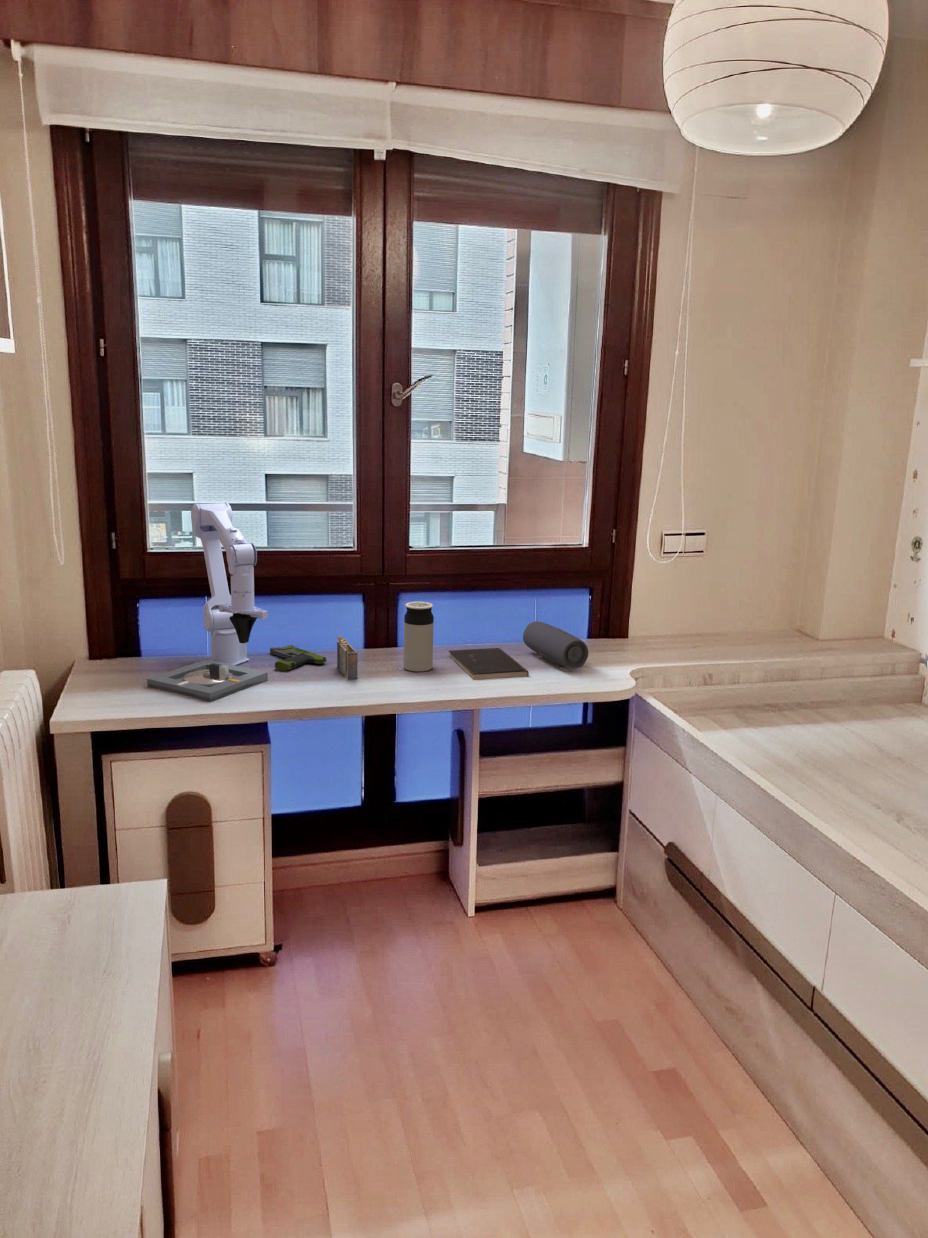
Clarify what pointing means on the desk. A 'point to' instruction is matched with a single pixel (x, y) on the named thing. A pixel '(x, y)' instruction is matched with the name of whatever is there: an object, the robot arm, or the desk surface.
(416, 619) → the travel mug
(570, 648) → the bluetooth speaker
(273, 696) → the desk surface
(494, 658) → the hardcover book
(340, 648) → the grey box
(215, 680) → the dial
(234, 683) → the dial plate
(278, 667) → the gun
